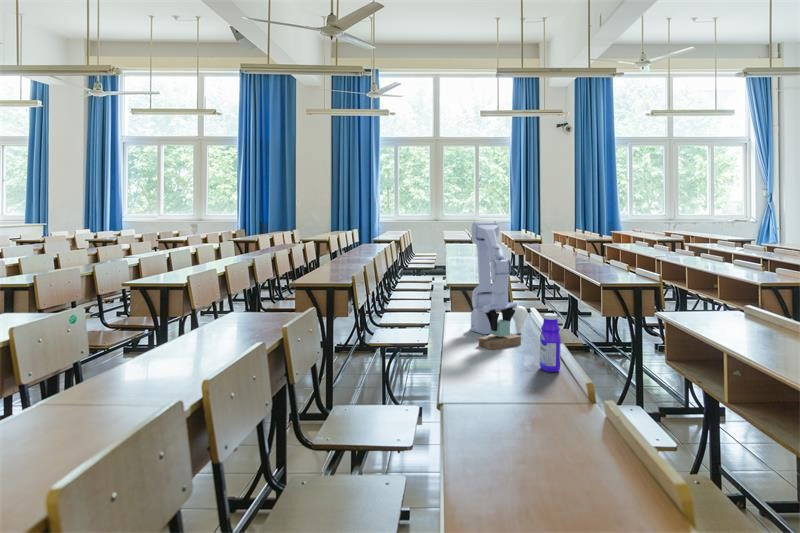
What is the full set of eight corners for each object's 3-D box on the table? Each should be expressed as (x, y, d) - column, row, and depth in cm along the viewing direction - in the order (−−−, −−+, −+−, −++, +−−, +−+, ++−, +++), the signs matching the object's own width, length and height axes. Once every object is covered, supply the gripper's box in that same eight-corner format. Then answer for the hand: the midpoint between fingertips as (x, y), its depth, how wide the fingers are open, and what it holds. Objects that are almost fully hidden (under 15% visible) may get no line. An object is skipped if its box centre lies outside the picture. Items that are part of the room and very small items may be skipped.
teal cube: (490, 333, 201) (490, 320, 201) (500, 332, 204) (500, 318, 203) (499, 336, 197) (499, 322, 196) (509, 334, 200) (510, 321, 199)
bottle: (536, 366, 174) (537, 312, 172) (554, 365, 175) (555, 311, 173) (544, 373, 167) (545, 317, 165) (563, 372, 168) (564, 316, 166)
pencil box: (478, 345, 200) (478, 337, 200) (507, 340, 207) (507, 332, 207) (491, 350, 194) (491, 341, 194) (521, 344, 201) (521, 336, 201)
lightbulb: (526, 331, 220) (526, 304, 219) (528, 335, 214) (528, 307, 213) (510, 331, 221) (510, 304, 220) (512, 335, 215) (512, 307, 214)
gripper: (492, 296, 192) (491, 334, 193) (523, 292, 199) (522, 329, 201) (479, 293, 198) (478, 330, 199) (509, 289, 205) (509, 325, 207)
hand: (499, 329), depth 200 cm, fingers closed on teal cube, 5 cm apart
